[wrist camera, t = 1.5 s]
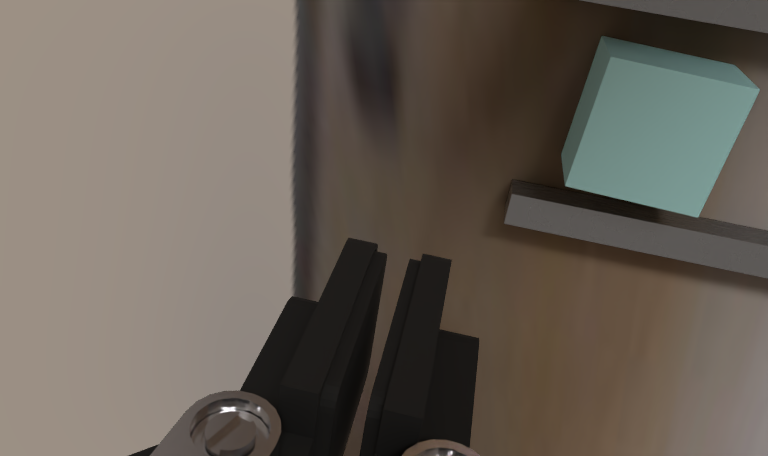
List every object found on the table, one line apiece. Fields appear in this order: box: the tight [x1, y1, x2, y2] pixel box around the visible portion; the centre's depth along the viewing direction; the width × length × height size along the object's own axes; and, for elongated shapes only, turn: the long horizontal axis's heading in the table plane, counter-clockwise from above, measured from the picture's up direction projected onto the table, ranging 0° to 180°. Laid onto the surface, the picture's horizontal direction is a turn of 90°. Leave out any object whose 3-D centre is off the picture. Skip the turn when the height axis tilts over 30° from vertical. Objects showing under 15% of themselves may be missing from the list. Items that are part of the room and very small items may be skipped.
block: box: [561, 36, 760, 218], centre depth 35 cm, size 7×7×4 cm
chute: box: [504, 0, 768, 278], centre depth 34 cm, size 15×22×4 cm
